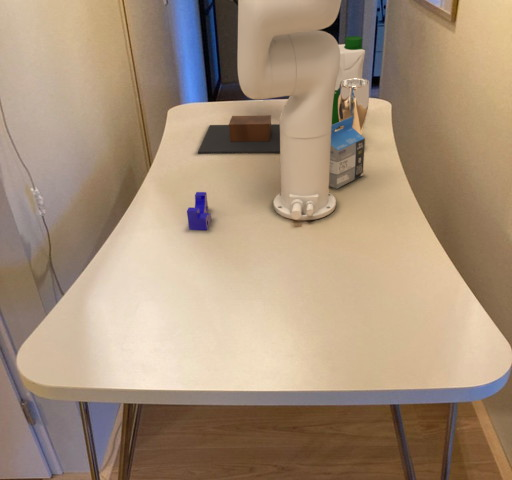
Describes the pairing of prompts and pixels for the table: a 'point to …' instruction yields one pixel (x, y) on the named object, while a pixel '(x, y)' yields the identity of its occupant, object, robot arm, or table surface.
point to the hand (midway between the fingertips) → (248, 28)
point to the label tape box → (345, 154)
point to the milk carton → (348, 67)
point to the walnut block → (250, 128)
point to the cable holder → (199, 213)
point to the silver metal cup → (353, 101)
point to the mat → (220, 142)
